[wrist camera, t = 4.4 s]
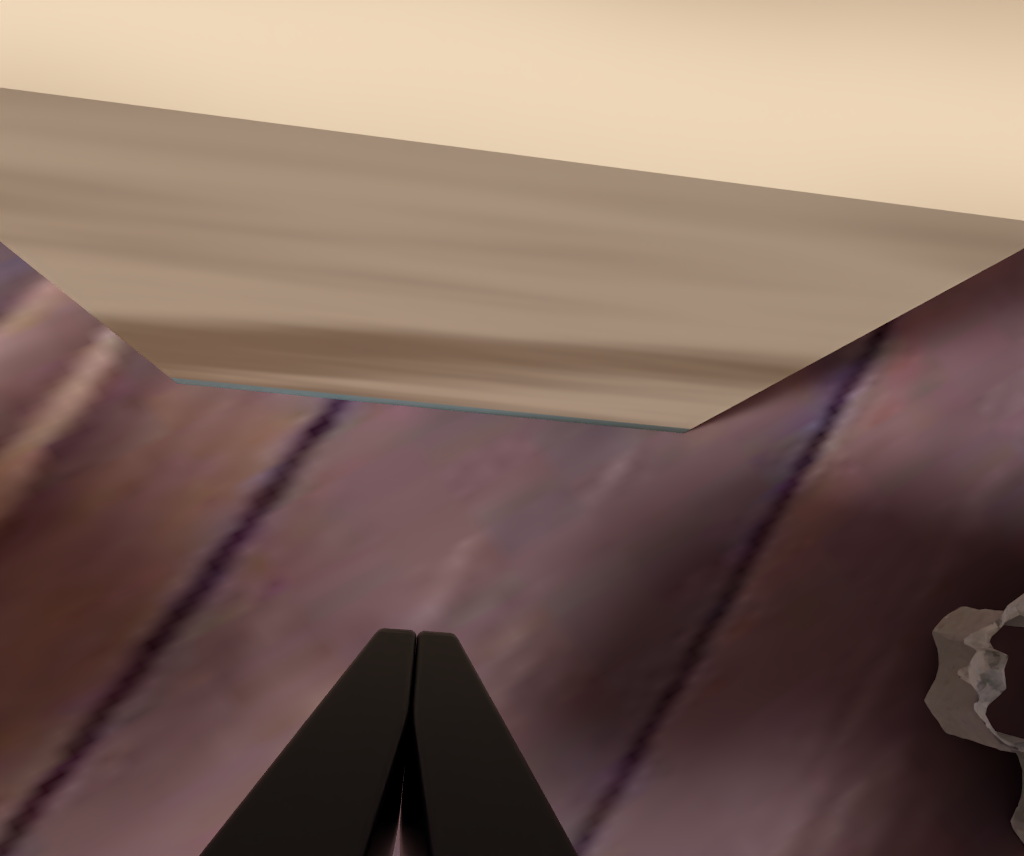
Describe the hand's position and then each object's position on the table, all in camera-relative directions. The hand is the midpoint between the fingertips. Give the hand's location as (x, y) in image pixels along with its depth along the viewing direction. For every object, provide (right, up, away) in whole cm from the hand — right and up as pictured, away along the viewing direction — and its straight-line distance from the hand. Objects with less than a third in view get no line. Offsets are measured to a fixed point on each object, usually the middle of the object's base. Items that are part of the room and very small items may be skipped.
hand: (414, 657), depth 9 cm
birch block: (-1, +5, +11) cm, 12 cm away
